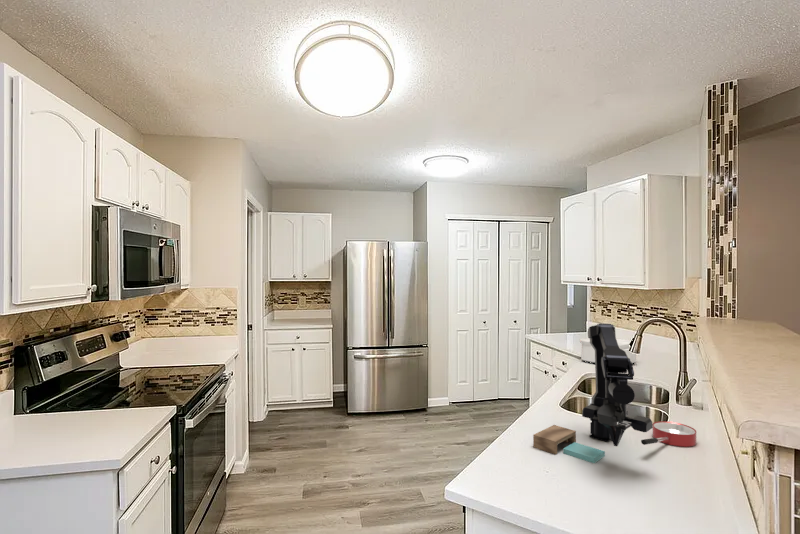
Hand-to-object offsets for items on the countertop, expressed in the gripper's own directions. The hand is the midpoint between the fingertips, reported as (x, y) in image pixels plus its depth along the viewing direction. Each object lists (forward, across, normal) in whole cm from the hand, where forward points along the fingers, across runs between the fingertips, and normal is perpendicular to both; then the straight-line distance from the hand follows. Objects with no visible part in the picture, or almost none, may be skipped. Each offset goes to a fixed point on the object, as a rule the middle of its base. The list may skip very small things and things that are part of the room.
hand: (616, 445), depth 131 cm
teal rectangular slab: (+6, -10, 0) cm, 12 cm away
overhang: (+6, -20, 0) cm, 21 cm away
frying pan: (+6, +6, +26) cm, 28 cm away
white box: (+7, -62, +151) cm, 164 cm away
